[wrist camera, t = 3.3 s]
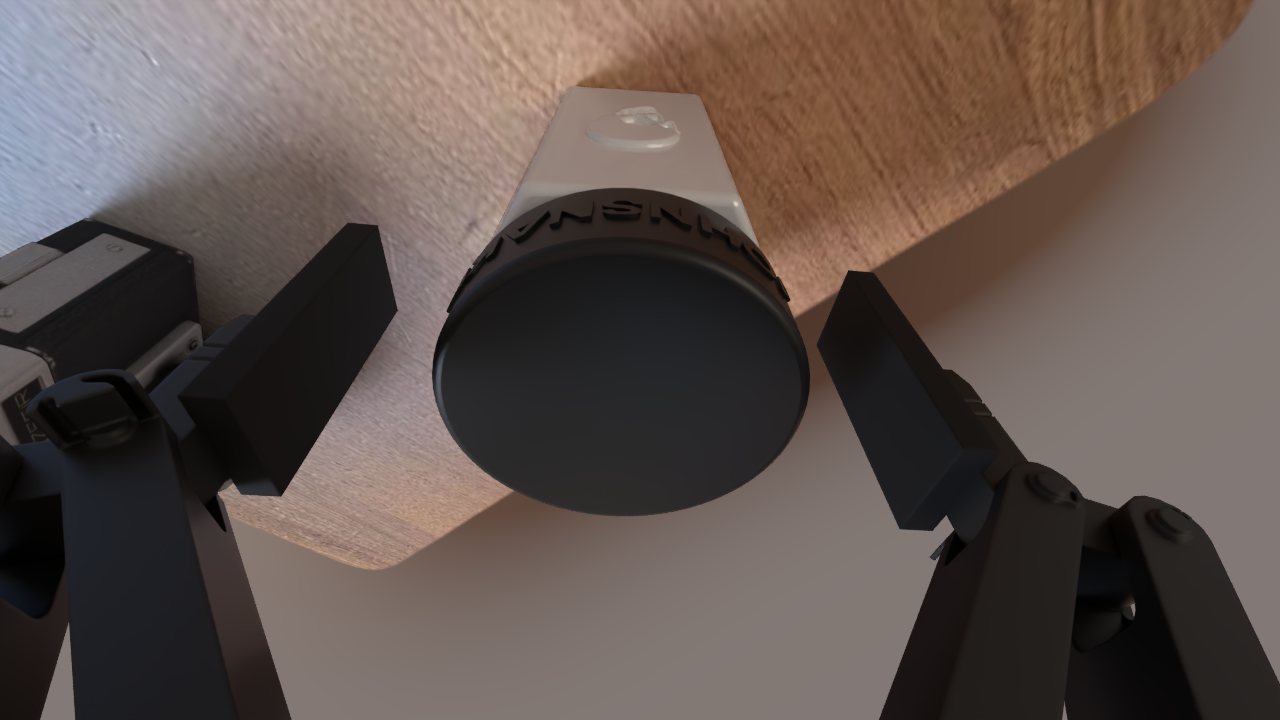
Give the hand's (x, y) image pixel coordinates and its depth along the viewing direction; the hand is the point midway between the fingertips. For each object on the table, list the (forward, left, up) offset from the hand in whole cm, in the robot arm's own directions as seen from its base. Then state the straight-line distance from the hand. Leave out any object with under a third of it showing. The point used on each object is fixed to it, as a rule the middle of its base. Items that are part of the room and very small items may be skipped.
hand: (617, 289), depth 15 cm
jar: (0, 0, -7) cm, 7 cm away
